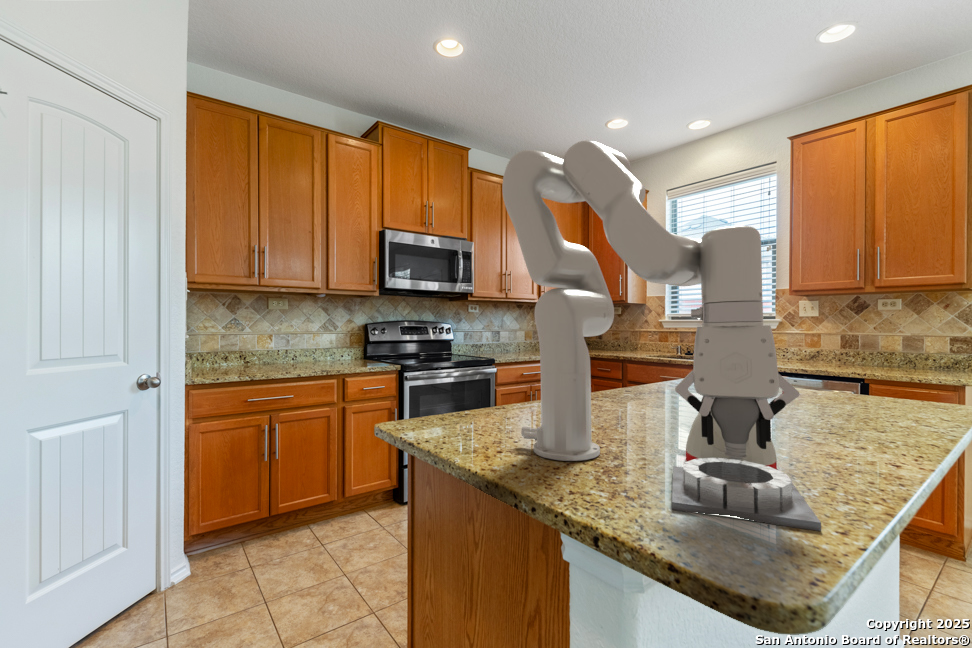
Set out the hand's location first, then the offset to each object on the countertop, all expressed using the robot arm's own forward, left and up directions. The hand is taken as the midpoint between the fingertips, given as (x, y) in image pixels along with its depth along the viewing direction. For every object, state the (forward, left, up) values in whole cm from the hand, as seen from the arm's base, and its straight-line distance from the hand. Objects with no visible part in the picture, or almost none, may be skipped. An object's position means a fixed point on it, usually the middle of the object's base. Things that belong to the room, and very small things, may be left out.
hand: (735, 443), depth 61 cm
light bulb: (0, 0, -2) cm, 2 cm away
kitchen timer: (+1, +17, -8) cm, 19 cm away
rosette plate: (0, 0, -8) cm, 8 cm away
